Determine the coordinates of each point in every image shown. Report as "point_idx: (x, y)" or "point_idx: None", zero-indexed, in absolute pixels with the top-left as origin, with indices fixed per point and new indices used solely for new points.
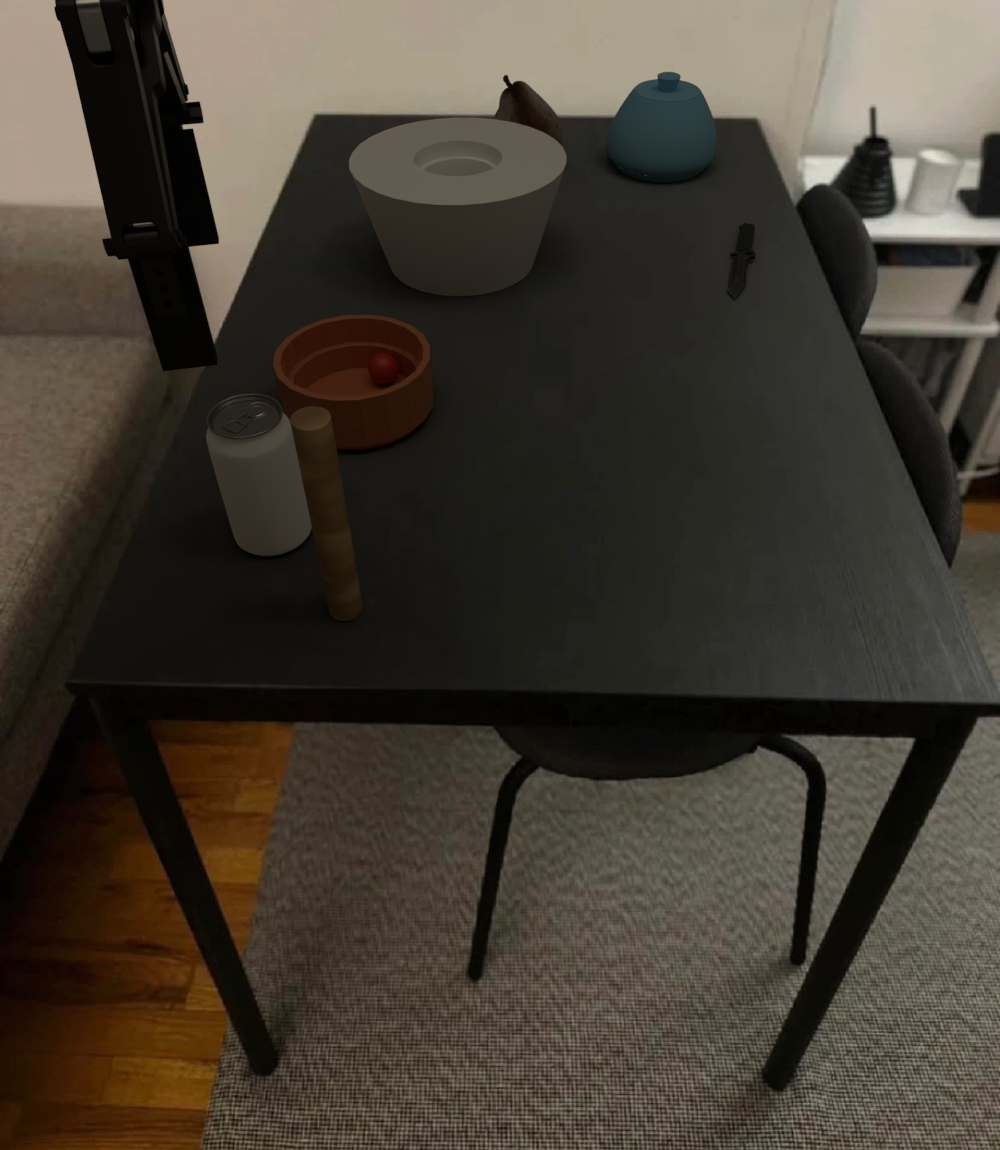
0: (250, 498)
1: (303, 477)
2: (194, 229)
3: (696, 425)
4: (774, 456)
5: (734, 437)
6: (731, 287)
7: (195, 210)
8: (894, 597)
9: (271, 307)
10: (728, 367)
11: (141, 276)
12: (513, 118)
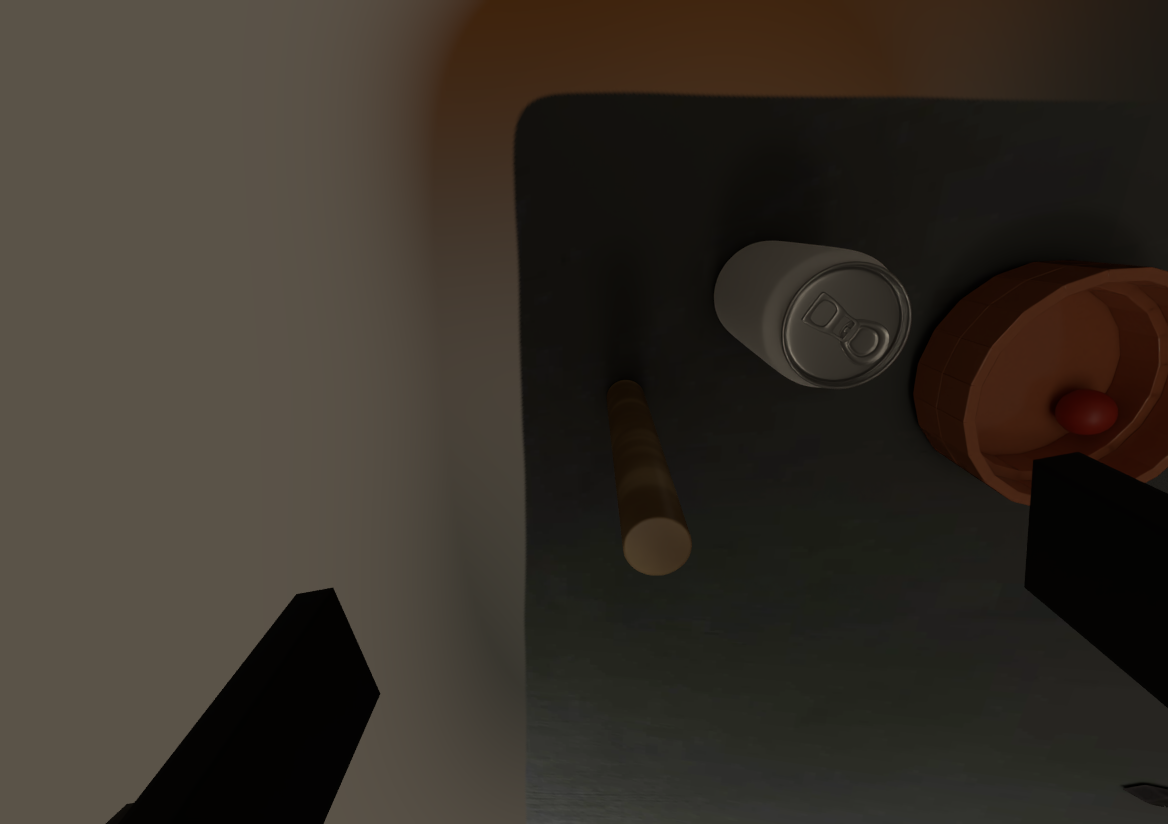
0: (739, 307)
1: (627, 474)
2: (1076, 567)
3: (885, 725)
4: (820, 777)
5: (857, 752)
6: (1151, 790)
7: (1139, 634)
8: (627, 820)
9: None
10: (984, 763)
11: None
12: None
